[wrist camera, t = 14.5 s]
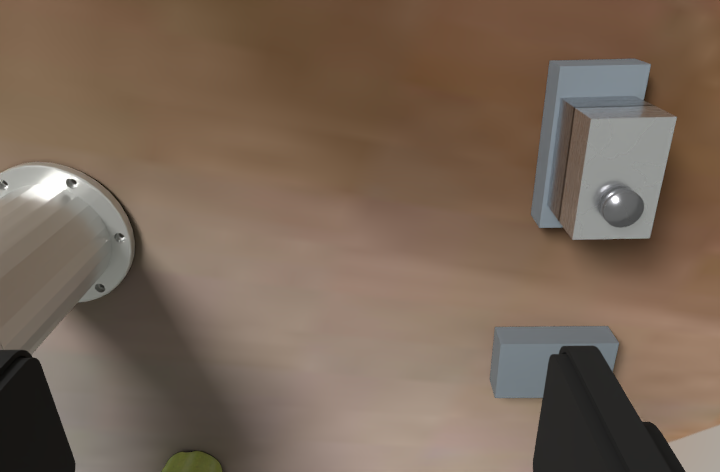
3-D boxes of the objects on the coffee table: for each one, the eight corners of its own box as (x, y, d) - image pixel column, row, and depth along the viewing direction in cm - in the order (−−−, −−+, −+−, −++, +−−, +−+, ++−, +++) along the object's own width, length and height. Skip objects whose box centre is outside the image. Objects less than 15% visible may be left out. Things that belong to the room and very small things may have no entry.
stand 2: (489, 379, 52) (494, 397, 50) (494, 327, 49) (500, 344, 47) (596, 378, 52) (606, 397, 49) (607, 326, 49) (619, 343, 47)
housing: (560, 97, 38) (597, 123, 32) (634, 95, 38) (685, 121, 32) (546, 204, 41) (577, 246, 35) (614, 203, 41) (656, 245, 35)
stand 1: (531, 214, 44) (539, 227, 42) (549, 60, 39) (560, 66, 37) (606, 213, 44) (618, 226, 42) (634, 58, 39) (650, 64, 37)
